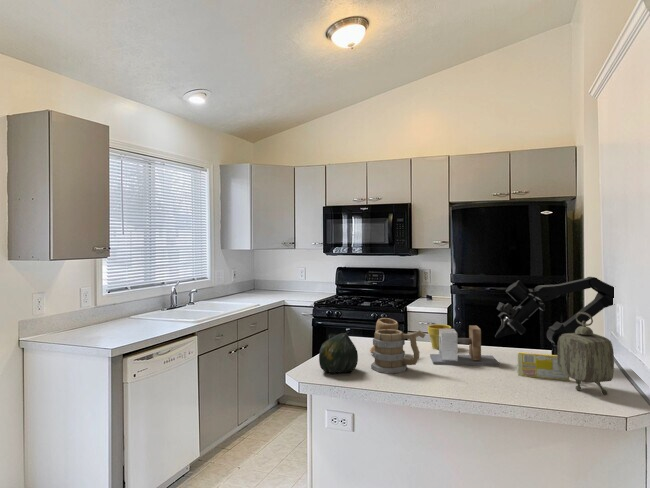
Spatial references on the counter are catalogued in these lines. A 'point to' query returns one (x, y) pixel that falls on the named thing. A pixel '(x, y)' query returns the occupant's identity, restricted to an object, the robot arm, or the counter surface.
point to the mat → (466, 360)
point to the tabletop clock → (586, 356)
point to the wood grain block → (473, 342)
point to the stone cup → (385, 326)
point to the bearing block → (448, 345)
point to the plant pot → (436, 334)
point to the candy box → (539, 366)
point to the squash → (338, 354)
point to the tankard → (393, 350)
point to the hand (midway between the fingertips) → (495, 337)
